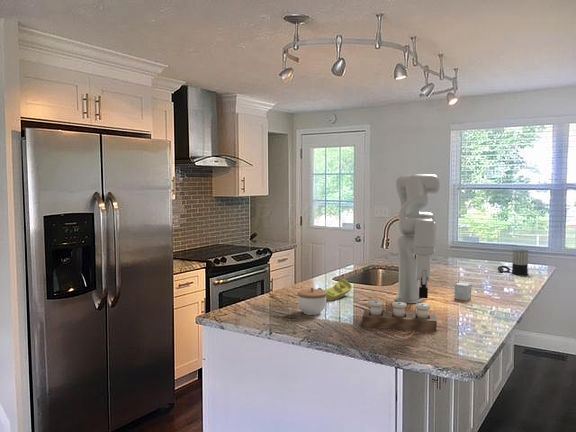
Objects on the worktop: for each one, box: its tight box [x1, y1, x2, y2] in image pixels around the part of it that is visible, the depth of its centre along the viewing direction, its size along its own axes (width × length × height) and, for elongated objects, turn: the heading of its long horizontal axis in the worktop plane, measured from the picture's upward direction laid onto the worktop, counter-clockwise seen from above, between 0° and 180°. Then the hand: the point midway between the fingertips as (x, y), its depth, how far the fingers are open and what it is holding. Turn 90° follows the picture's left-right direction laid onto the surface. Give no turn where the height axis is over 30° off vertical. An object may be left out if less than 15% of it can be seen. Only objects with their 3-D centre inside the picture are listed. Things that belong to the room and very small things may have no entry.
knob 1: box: [368, 300, 384, 316], centre depth 194 cm, size 6×6×5 cm
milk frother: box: [497, 248, 529, 276], centre depth 302 cm, size 14×16×15 cm
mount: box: [361, 309, 438, 332], centre depth 192 cm, size 28×10×4 cm, turn 76°
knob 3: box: [415, 302, 431, 319], centre depth 190 cm, size 6×6×5 cm
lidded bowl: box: [297, 287, 327, 316], centre depth 211 cm, size 13×13×11 cm
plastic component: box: [317, 278, 353, 302], centre depth 242 cm, size 20×7×10 cm
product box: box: [454, 281, 472, 302], centre depth 236 cm, size 6×6×7 cm
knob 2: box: [391, 301, 408, 317], centre depth 192 cm, size 6×6×5 cm
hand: (423, 297), depth 189 cm, fingers closed
